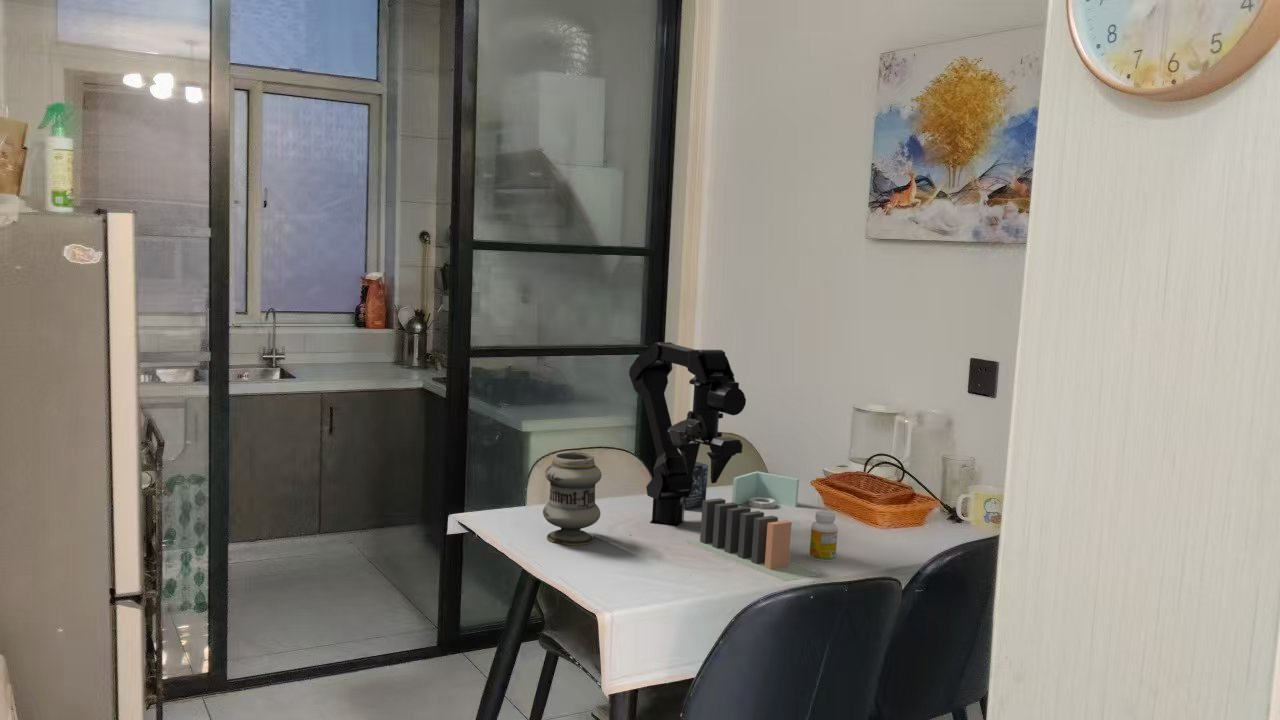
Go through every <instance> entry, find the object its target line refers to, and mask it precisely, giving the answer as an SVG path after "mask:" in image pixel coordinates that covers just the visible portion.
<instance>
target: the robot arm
mask: <svg viewBox="0 0 1280 720" xmlns="http://www.w3.org/2000/svg"><path fill="white" fill-rule="evenodd" d="M673 364H674V365H677V366H682V367H685V368H687V371H688V372H689V373H690V374H692V375H693V376H694V377H692V378H691V379H690V380H689V382H688V383H689V385H693V387H694V388H693V398H692V399H693V400H692V410H689V411H688V412H687V414H686V415H687V416H686V419H684V420H681V421H679V422H676V423H675V424H672V419H671V417H670V412H669V409H668V404H667V399H666V395H665V392H666V390H667V387H668V383H669V377H668V376H669V375H670V373H671V372H672V370H673ZM628 376H629V378H630V381H631V384H632V386H633V390H634V391H635V392H636V393H637V394H638V396H640V398H642V399H643V403H644V407H645V410H646V416H647V419H648V424H649V428H650V432H651V435H652V439H653V440H652V441H653V445H654V449H655V452H656V461H655V464H654V466H653V470H652V471H653V477H652V478H651V480H650V481H649V482H648V484H647V485H646V494H647V496H648V497H650V498H652V499H653V500H652V511H651V512H652V515H651V520H650V521H649V524H655V525H661V526H670V527H679V526H680V525H681V524H683V522H684V521H685V510H684V508H685V504H684V503H682V501H683V497H686V498H687V497H689V495H690V492H691V488H692V485H693V481H694V478H693V471H694V467H695V463H696V462H697V460H698V455H699V454H698V453H699V450H700V446H701V445H706V446H709V449H710V451H709V452H706V454H707V456H708V457H709V458H710V483H711V484H716V483H717V482H718V480H719V478H720V477H721V474H722V473H723V471H724V469H725V468H726V465H727V464H728V463H729V462H730V460H731V459H732V457H733V456H736V455H737V454H742V453H743V443H742V441H741V440H740V439H738V438H736V437H735V438H734V437H730V436H726V437H725V436H724V437H723V435H722V434H723V433H722V431H719V422H720V421H719V420H720V419H723V418H724V414H726V415H731V416H738V415H739V414H740V413H741V412H743V411H744V409H745V406H746V404H747V403H746V402H747V399H746V395H745V393H744V392H743V390H742V389H740V383H739V381H736V379H735V374H734V372H733V370H732V367H731V365H730V362H729V359H728V357H727V356H726V352H725V351H724V350H723V349H695V348H691V347H687V346H682V345H677V344H675V343H673V342H670V341H669V342H667V341H666V342H665V341H662V342H660V341H659V342H658V341H656V342H655V343H653V344H651V346H650V347H649V349H647V350H646V351H645V352H642V353H641V354H640V355H638V356H637V357H636V358H635V360H634V361H633V363H632V364H631V366H630V367H629V371H628Z"/></svg>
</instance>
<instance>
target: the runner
mask: <svg viewBox="0 0 1280 720" xmlns="http://www.w3.org/2000/svg"><path fill="white" fill-rule="evenodd" d="M685 542H686V543H688V544H690V545H693V546H695V547H699V548H700V549H703V550H706V551H708V552H712V553H713V554H716V555H718V556H721V557H723V558H726V559H728V560H731V561H734V562H736V563H739V564H741V565H744V566H745V567H748V568H750V569H753V570H756V571H758V572H761V573H764V574H765V575H768V576H770V577H773V578H776V579H778V580H781V581H784V582H789V581H794V580H798V579H804V578H810V577H815V576H821V575H822V573H821V572H817V571H815V570H812V569H809V568H807V567H804V566H802V565H800V564H796V563H794V562H791V561H789V566H788V567H782V568H777V569H771V570H770V569H767V568H765V563H761V564H755V563H752V562H751V558H745V559H742V558H740V557H738V552H736V553H730V554H729V553H727V552H725V548H719V549H717V548H714V547H712V544H713V543H707V544H704V543H702V542H700V538H699V539H692V540H686V541H685Z"/></svg>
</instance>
